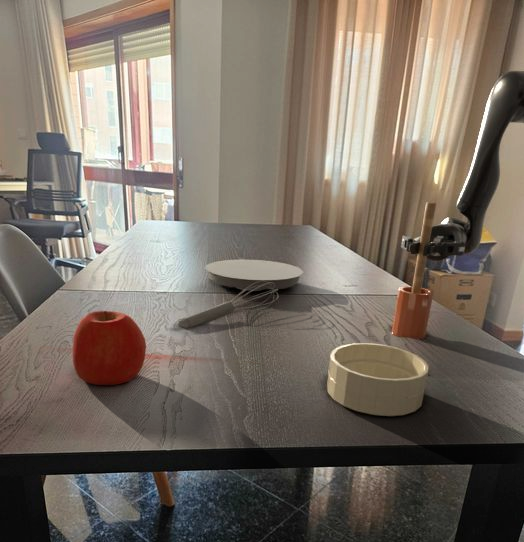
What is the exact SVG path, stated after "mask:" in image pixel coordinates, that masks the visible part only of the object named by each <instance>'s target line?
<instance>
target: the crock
mask: <svg viewBox="0 0 524 542" xmlns="http://www.w3.org/2000/svg"><path fill="white" fill-rule="evenodd" d="M411 292H412V286H400V287H399V288H398V290H397V295H396V296H397V297H396V303H395V309H394V316H393V320H392V327H391V334H393V335H394V336H396V337H398V338H406V339H419V340H420V339H421V340H423V339H425V338H426V335H427V331H428V324H429V319H430V314H431V309H432V304H433V298H434V294H435V293H434V291H433V290H431V289H427V288H424V287H422V288H421V294H417V293H411Z"/></svg>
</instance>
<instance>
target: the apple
mask: <svg viewBox="0 0 524 542" xmlns="http://www.w3.org/2000/svg"><path fill="white" fill-rule="evenodd" d="M146 352H147V343H146V338H145V336H144V333H143V332H142V330H141V329H140V327H139V325H138V324H137V323H136V321H135V320H134V319H133V318H132V317H131V316H130V315H128V314H126V313H125V312H124V313H123V312H120V311H113V310H112V311H111V310H97V311H93V312H89V313H88V314H87V315H85V316H84V317H83V318H81V320H80V321H79V323H78V325H77V327H76V329H75V332H74V334H73V341H72V364H73V368H74V371H75V372H76V374H77V376H78V377H79V378H80V379H81V380H83V381H84V382H85V383H88V384H92V385H97V386H98V385H99V386H117V385H120V384H124V383H126V382H129V381H131V380H132V379H134V378H135V377H137V376H138V375H139V373H140V372H141V370H142V368H143V365H144V363H145V359H146Z"/></svg>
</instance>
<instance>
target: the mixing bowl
mask: <svg viewBox="0 0 524 542" xmlns="http://www.w3.org/2000/svg"><path fill="white" fill-rule="evenodd" d="M429 368H430V366H429V364H428V363H427V361H426V360H424V359H423V358H422V357H420V356H419V355H417V354H415V353H413V352H411V351H409V350H406V349H403V348H400V347H396V346H393V345H387V344H381V343H370V342H357V343H356V342H355V343H348V344H343V345H340V346H337V347H336V348H334V349H333V350H332V351H331V352H330V355H329V364H328V372H327V382H326V389H327V393H328V394H329V396H330V398H332V399H333V401H335V402H337V403H338V404H340V405H341V406H343V407H345V408H348V409H350V410H353V411H355V412H359V413H363V414H368V415H373V416H383V417H385V416H386V417H396V416H405V415H408V414H411V413H414V412H416V411H417V410H418V409H420V408H421V407H422V404H423V399H424V394H425V389H426V384H427V380H428V374H429Z"/></svg>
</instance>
